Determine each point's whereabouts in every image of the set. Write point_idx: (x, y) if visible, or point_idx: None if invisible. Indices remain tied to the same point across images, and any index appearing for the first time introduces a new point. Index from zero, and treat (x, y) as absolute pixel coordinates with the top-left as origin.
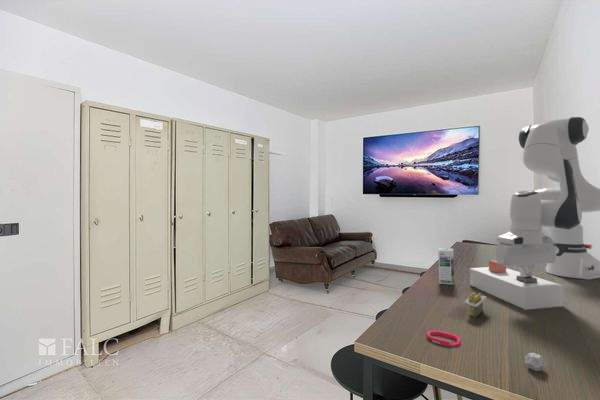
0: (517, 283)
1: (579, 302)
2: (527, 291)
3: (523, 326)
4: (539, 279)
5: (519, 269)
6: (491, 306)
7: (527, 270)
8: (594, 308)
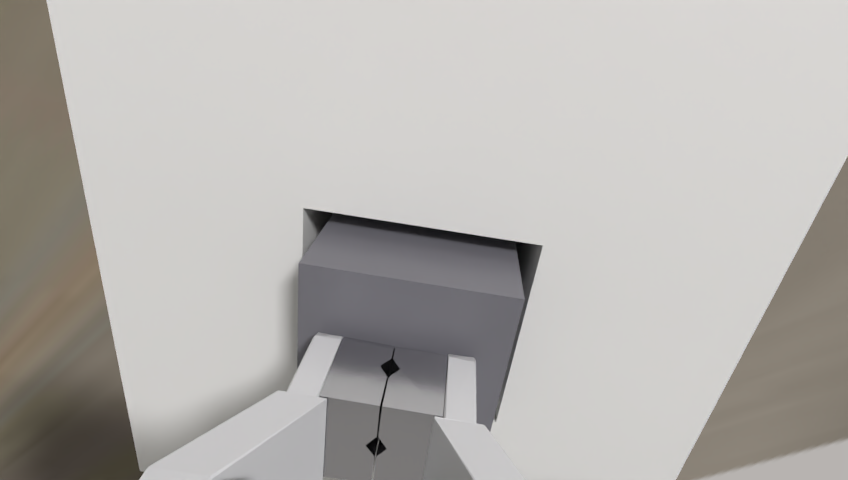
0: (189, 347)
1: (814, 380)
2: None
3: (55, 451)
4: (675, 346)
5: (226, 437)
6: (30, 193)
7: (435, 451)
8: (739, 468)
